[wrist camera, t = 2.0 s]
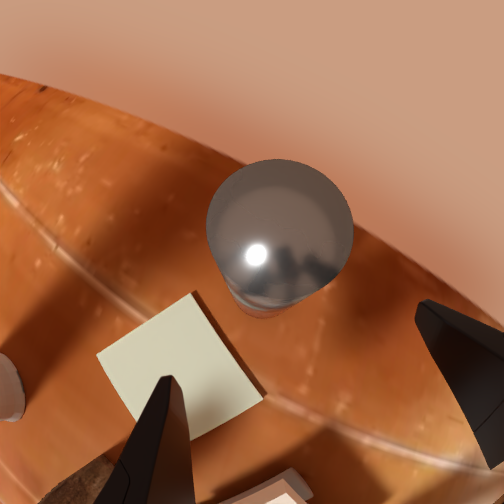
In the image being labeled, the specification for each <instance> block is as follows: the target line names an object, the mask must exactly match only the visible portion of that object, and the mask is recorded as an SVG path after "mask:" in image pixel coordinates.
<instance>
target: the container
mask: <svg viewBox="0 0 504 504" xmlns="http://www.w3.org/2000/svg"><path fill="white" fill-rule="evenodd" d="M24 409H25V393H24V388H23V384H22V381H21V378H20V376H19V373H18V371H17V369H16V368H15V366H14V364H13V363H12V361H11V360H10V359H9V358H8V357H7V356H6V355H4V354H2V353H0V421H4V420H6V421H11V422H15V421H17V420H19V419H21V417H22V415H23V414H24Z"/></svg>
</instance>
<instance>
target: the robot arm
mask: <svg viewBox="0 0 504 504" xmlns="http://www.w3.org/2000/svg"><path fill="white" fill-rule="evenodd" d="M415 323H416V325H417V327H418V329H419V331H420V333H421V336H422V338H423V340H424V342H425V344H426V346H427V348H428V350H429V352H430V354H431V356H432V358H433V359H434V361H435V363H436V364H437V366H438V368H439V369H440V371H441V373H442V375H443V376H444V378H445V380H446V382H447V383H448V385H449V387H450V389H451V391H452V392H453V394H454V396H455V398H456V400H457V402H458V403H459V405H460V407H461V409H462V411H463V413H464V415H465V417H466V419H467V421H468V423H469V425H470V427H471V429H472V431H473V432H474V435H475V438H476V440H477V442H478V444H479V446H480V448H481V450H482V453H483V455H484V457H485V460H486V462H487V464H488V467H489V468H490V470H491V469H493V468H494V467H496V466H497V465H499V464H500V463H502V462H503V461H504V332H501V331H499V330H497V329H495V328H493V327H491V326H488V325H486V324H484V323H482V322H480V321H477V320H475V319H473V318H471V317H468V316H466V315H464V314H462V313H460V312H457V311H455V310H453V309H450V308H448V307H446V306H444V305H441V304H439V303H437V302H435V301H432V300H430V299H426V300H423V301H421V302H419V304H418V307H417V311H416V314H415ZM119 458H120V459H118V461H117V463H116V465H115V467H114V469H113V471H112V472H111V474H110V476H109V478H108V480H107V481H106V483H105V485H104V486H103V488H102V490H101V491H100V493H99V494H98V496H97V497H96V499H95V500H94V502H93V503H92V504H196V502H195V493H194V483H193V472H192V460H191V447H190V433H189V426H188V421H187V415H186V409H185V403H184V397H183V392H182V389H181V387H180V385H179V384H178V382H177V381H176V379H175V378H174V376H173V375H166V376H161V377H160V378H159V380H158V382H157V384H156V386H155V388H154V390H153V392H152V394H151V396H150V398H149V400H148V401H147V403H146V405H145V407H144V409H143V411H142V413H141V415H140V417H139V419H138V421H137V423H136V425H135V427H134V429H133V431H132V433H131V435H130V437H129V439H128V441H127V443H126V445H125V447H124V449H123V451H122V453H121V455H120V457H119ZM493 504H504V494H503V495H502V496H501V497H500V498H499V499H498V500H497V501H496V502H494V503H493Z"/></svg>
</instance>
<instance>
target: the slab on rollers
mask: <svg viewBox="0 0 504 504" xmlns="http://www.w3.org/2000/svg"><path fill="white" fill-rule="evenodd" d="M312 497H313V493H312V491H311V489H310V488H309V486H308V485H307V483H306V482H305V480H304V479H303V478H302V477H301V475H300V474H299V473H298V472H297V471H296V470H295V469H294V468H292V467H291V468H289V469H287V470H285V471H284V472H282V473H280V474H278V475H276V476H275V477H273V478H271V479H269V480H267V481H265V482H263V483H261V484H259V485H257V486H255V487H253V488H251V489H249V490H247V491H245V492H243V493H241V494H238V495H236V496H234V497H232V498H229V499H227V500H225V501H222V502H220V503H218V504H307V503H306V502H305V501H306V500H308V499H310V498H312Z"/></svg>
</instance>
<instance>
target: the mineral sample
mask: <svg viewBox="0 0 504 504" xmlns="http://www.w3.org/2000/svg"><path fill="white" fill-rule="evenodd" d="M113 469H114V466H113V464H112V463H111V462H110V461H109V460H108V459H107V458H106V457H105V456H104V455H103V454H101V455H100V456H98V457H97V458H96V459H94V460H93V461H91V462H90V463H88V464H87V465H86V466H84V467H83V468H81V469H80V470H78V471H77V472H75V473H74V474H72V475H71V476H69V477H68V478H66V479H65V480H63V481H62V482H60V483H58V485H57V486H56V487H54V488H53V489H52V490H51V492H49V493H48V494H46V495H45V497H44V498H42V500H41V501H40V502H39V503H38V504H92V503H93V502H94V500H95V499H96V497H97V496H98V494H99V493H100V491H101V490H102V488H103V486H104V485H105V483H106V481H107V480H108V478H109V476H110V474H111V472H112V471H113Z"/></svg>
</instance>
